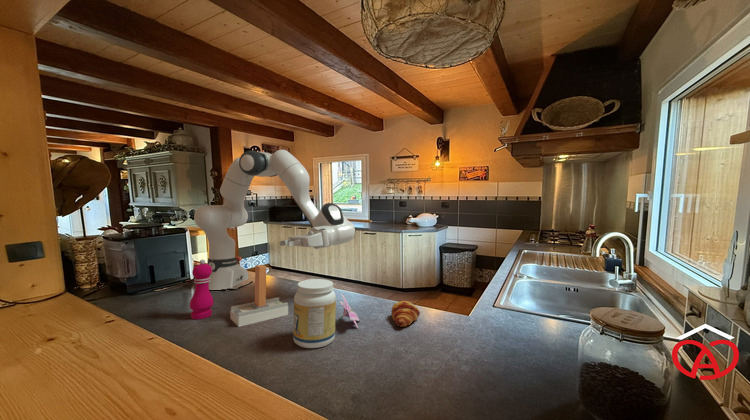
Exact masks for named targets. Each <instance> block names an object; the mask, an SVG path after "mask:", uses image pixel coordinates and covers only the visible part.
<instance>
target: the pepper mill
mask: <svg viewBox="0 0 750 420" xmlns="http://www.w3.org/2000/svg"><path fill="white" fill-rule="evenodd" d="M191 273H192V276H193V277H194V278H193V280H194V281H193V283H194V285H195V286H194V287H195V289H194V293H193V294H192V297H191V299H190V301H189V309H190V310H191V312H190V313H191V314H190V318H191V319H192V320H204V319H208V318H210V317H212V316H213V310H212V307H213V306H214V303H215V302H214V298H213V296H212V294H211V291H209V282H210V277H209V276H210V275H211V273H212V268H211V266H210V265H208V263H206V260H205V259H201V260H199V264H197V265H195V266H194V267H193V268H192V271H191Z"/></svg>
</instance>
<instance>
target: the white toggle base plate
mask: <svg viewBox="0 0 750 420" xmlns="http://www.w3.org/2000/svg"><path fill="white" fill-rule="evenodd" d="M251 303H255V301H252V302H247V303H243V304H239V305H232V306H230V317H229V318H230V320H231V321H232V322H233V323H234V324H235V325H236V326H237V327H238V328H239V327H243V326H244V327H245V326H247V325H252V324H256V323H261V322H264V321H268V320H272V319H276V318H277V319H278V318H279V317H285V316H288V315H289V303H288V302H282V301H280V297H279V296H278V297H272V298H266V304H267V305H269V306H268V307H263V308H259V309H254V308H253V307H252V306H251Z"/></svg>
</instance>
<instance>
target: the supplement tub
mask: <svg viewBox="0 0 750 420" xmlns="http://www.w3.org/2000/svg"><path fill="white" fill-rule="evenodd" d="M296 290H297V291H296V293H295V294H294V297H293V334H292V337H293V342H294V343H295V345H297V346H299V347H300V348H305V349H318V348H322V347H325V346H328V345H330V344H331V343H332V342H333V341H334V340H335V337H336V314H337V313H336V311H337V310H336V309H337V307H336V306H337V294H336V293H335V291H334V282H333V281H332V280H329V279H324V278H311V279H305V280H302V281H299V282H298V283H297V288H296Z"/></svg>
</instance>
